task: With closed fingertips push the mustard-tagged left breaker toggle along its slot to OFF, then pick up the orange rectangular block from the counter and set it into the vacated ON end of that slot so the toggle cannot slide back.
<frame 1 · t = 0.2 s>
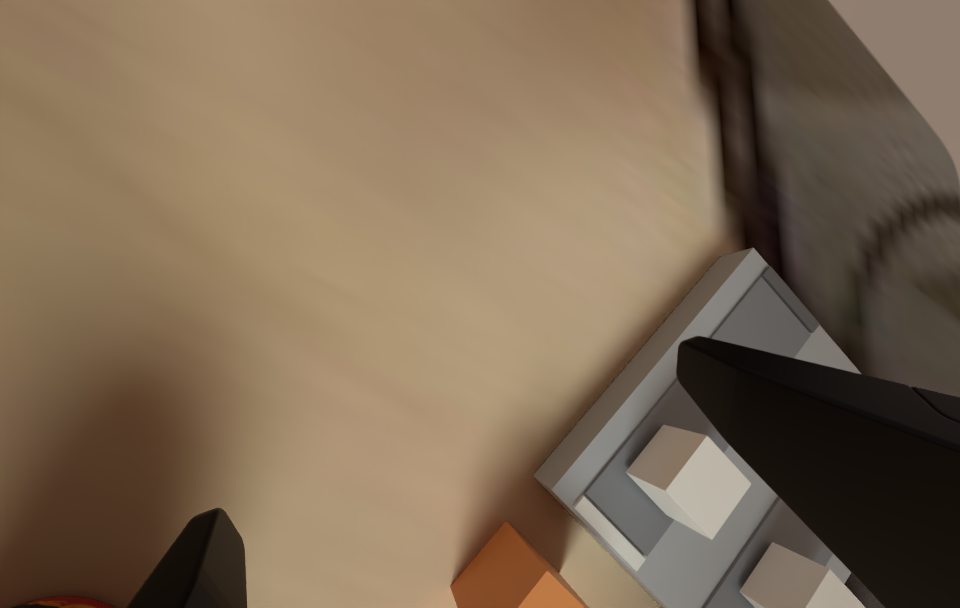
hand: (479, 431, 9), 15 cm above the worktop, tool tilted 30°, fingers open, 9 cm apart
orange rectangular block: (506, 579, 23), on the worktop
toggle b: (685, 477, 21), point 5 cm above the worktop, slide at 0.0 cm
breaker panel: (724, 456, 27), on the worktop
toggle a: (802, 601, 22), point 4 cm above the worktop, slide at 0.0 cm
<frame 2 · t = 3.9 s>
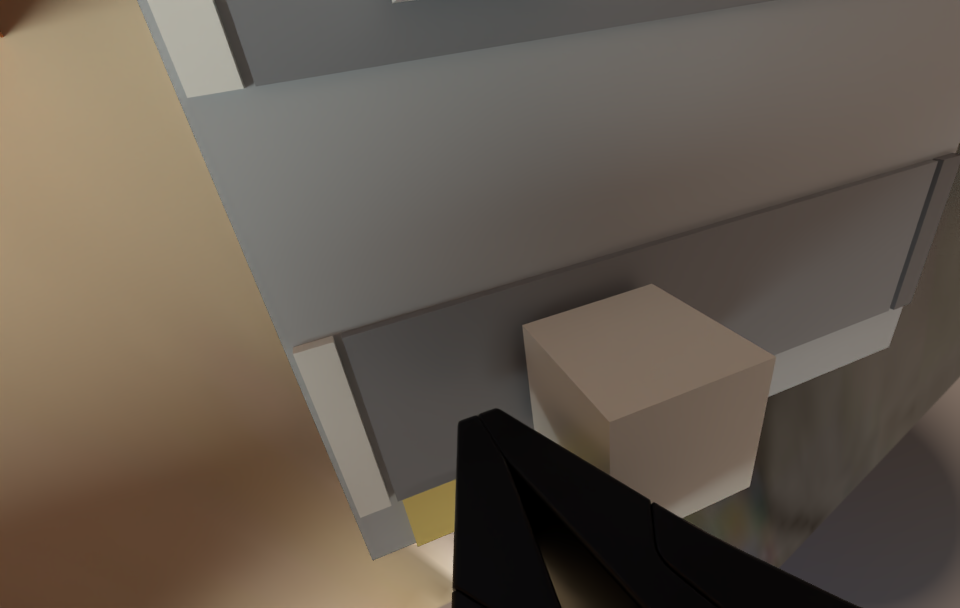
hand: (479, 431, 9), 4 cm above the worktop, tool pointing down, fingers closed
breaker panel: (618, 133, 11), on the worktop
toggle a: (633, 404, 9), point 4 cm above the worktop, slide at 1.3 cm, touching gripper
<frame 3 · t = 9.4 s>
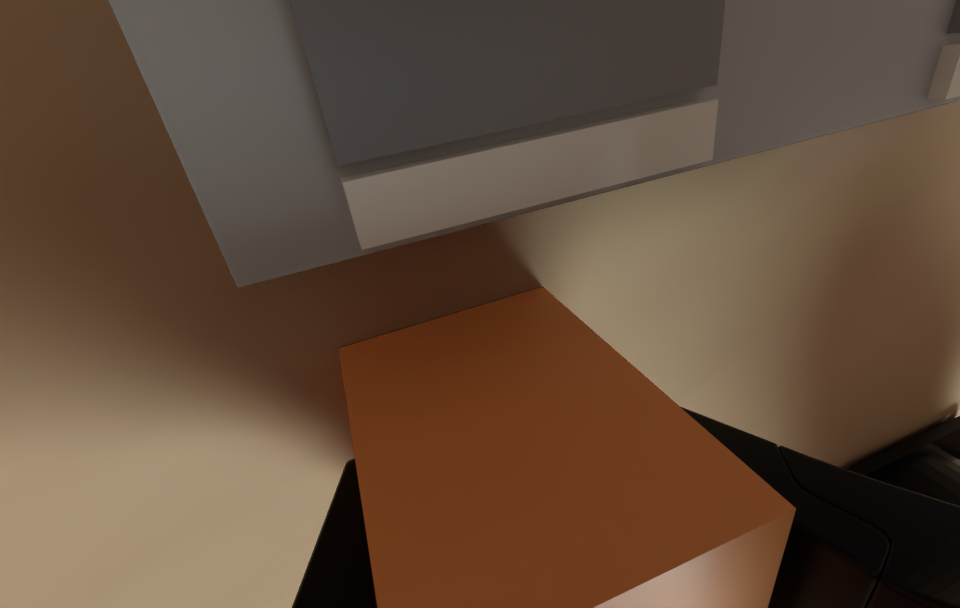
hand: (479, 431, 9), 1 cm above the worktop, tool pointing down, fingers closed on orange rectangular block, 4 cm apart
orange rectangular block: (462, 398, 10), on the worktop, touching gripper
when the fingers open (5 cm above the worktop, at t = 12.6 s): orange rectangular block drops 1 cm, resting on breaker panel.
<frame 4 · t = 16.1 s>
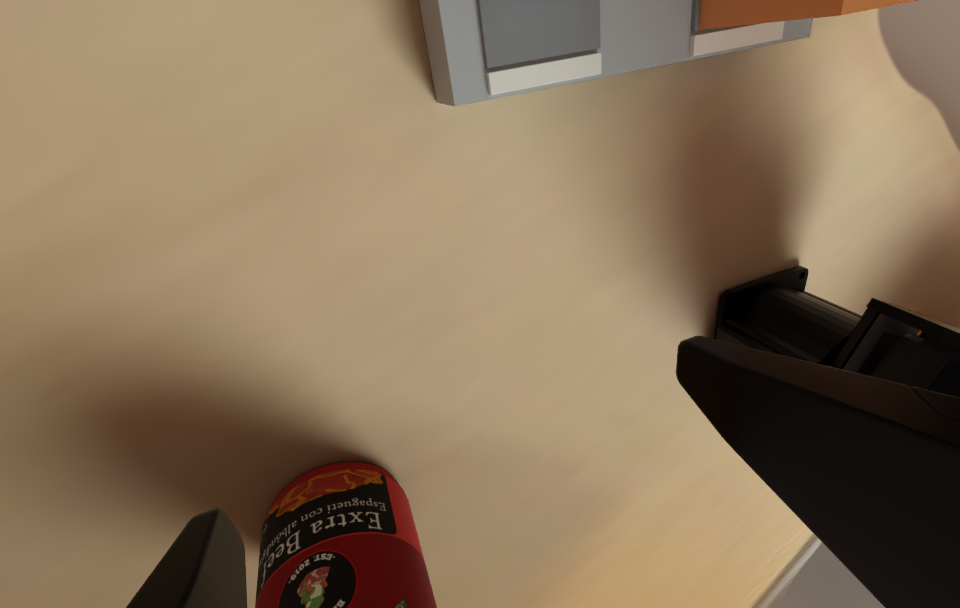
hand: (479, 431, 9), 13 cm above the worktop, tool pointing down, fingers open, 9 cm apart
canned food: (337, 510, 26), on the worktop
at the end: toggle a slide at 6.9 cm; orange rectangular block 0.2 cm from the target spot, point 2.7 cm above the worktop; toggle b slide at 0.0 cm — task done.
